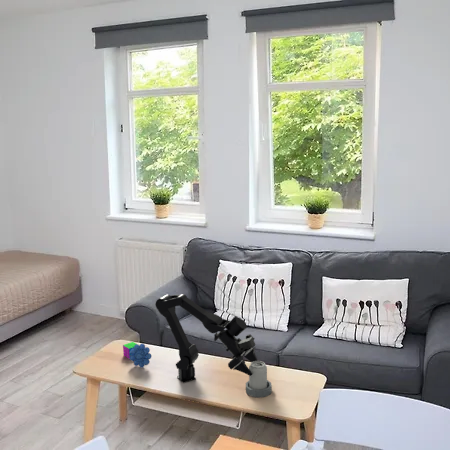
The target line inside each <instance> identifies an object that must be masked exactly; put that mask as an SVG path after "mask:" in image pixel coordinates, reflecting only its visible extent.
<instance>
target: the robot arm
mask: <svg viewBox="0 0 450 450" xmlns="http://www.w3.org/2000/svg"><path fill="white" fill-rule="evenodd" d="M155 307H156V309H157V311H158V312H159V314H160V315H162V316H163V317H164V318H165V321H166V322H167V324H168V326H169V329H170V331H171V332H172V336H173V337H174V340H175V342H176V343H177V344H176V345H177V347H178V355H179V359H180V360H178V361H177V362H176V363H175V367H176V369H178V372H177V373H178V375H177V377H176V378H177V379H178V380H179V381H180V382H182V383H184V384H185V383H187V382H191V381H194V380H196V379H197V377H195V376H196V368H195V365H194V363H195V362H196V361H197V360H198V358H199V349H198V348H197V345H196V344H195V343H193V344H192V343H190V341H189V340H188V337H187V335H186V333H185V330H184V328H183V326H182V324H181V322H180V320H179V318H178V315H177V314H176V307H181V308H182V309H184V311H186V312H187V313H189V314H191V315H192V316H193V317H195V318H196V319H197V320H199V321H200V322H201V323H202V326H203V327H204V328H205V329H206V330H207V331H208V332H209V333H211V334H214V335H213V336H214V339H213V341H214V342H216V341H218V339H219V340H220V342H221V343H222V344H223V346H224V347H225V348H226V349H225V351H226V352H230V353H231V354H232V359H231V360H229V362H228V364H227V367H228V368H229V369H230V371H231V370H233V371H238V372H241V373H242V374H246V375H247V376H249V375H250V376H251V375H252V373H251V371H250V370H249V367H248V365H247V364H246V359H247V360H248V361H249V362H250V363H252V362H253V361H259V359H258V357H257V356H256V353H255V352H256V342H255V337H254V336H253V335H252V334H250V333H249V334H246V335H245V338H244V339H242V338H240V337H238V336H239V335H240V334H241V333H243V332H244V331H245V330H246V329H247V328H248V325H247V322H246V321H245V320H244V319H242V318H241V317H238V316H237V315H235V316H234V317H233V318H231V320H228V319H225V318H223V317H221V316H219V315H218V314H216V313H212V312H208V311H206V310H205V309H204V308H203V307H201V306H200V305H198V304H197V303H196V302H194V301H193V300H192V299H190V298H189V297H187V295H186V294H182V293H181V294H172V295H170V294H164V295H163V296H161V297H159V298H158V299H156V301H155Z"/></svg>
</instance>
